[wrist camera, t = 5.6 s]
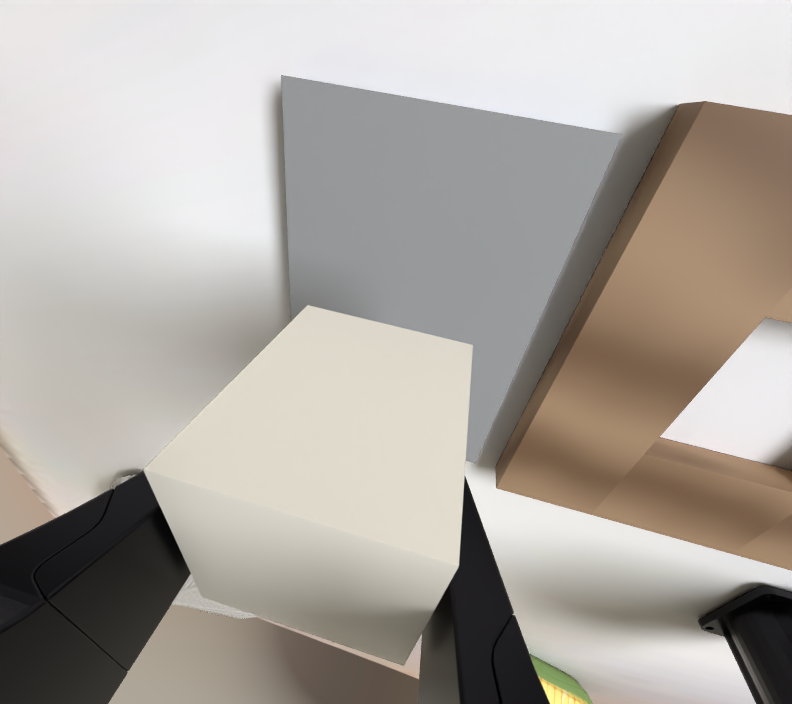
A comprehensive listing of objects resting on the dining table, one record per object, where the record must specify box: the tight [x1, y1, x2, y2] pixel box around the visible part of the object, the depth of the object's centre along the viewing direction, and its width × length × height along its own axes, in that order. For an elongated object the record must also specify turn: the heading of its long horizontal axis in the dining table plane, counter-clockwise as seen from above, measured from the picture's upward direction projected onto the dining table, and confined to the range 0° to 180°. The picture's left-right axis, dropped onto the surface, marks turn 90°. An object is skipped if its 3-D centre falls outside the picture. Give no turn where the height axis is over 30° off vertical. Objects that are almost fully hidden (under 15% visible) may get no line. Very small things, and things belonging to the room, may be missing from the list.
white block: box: [143, 305, 473, 666], centre depth 9 cm, size 5×5×6 cm
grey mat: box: [281, 75, 622, 463], centre depth 16 cm, size 16×11×1 cm
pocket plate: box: [496, 101, 792, 570], centre depth 14 cm, size 18×18×2 cm
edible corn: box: [530, 655, 593, 704], centre depth 33 cm, size 5×20×5 cm
